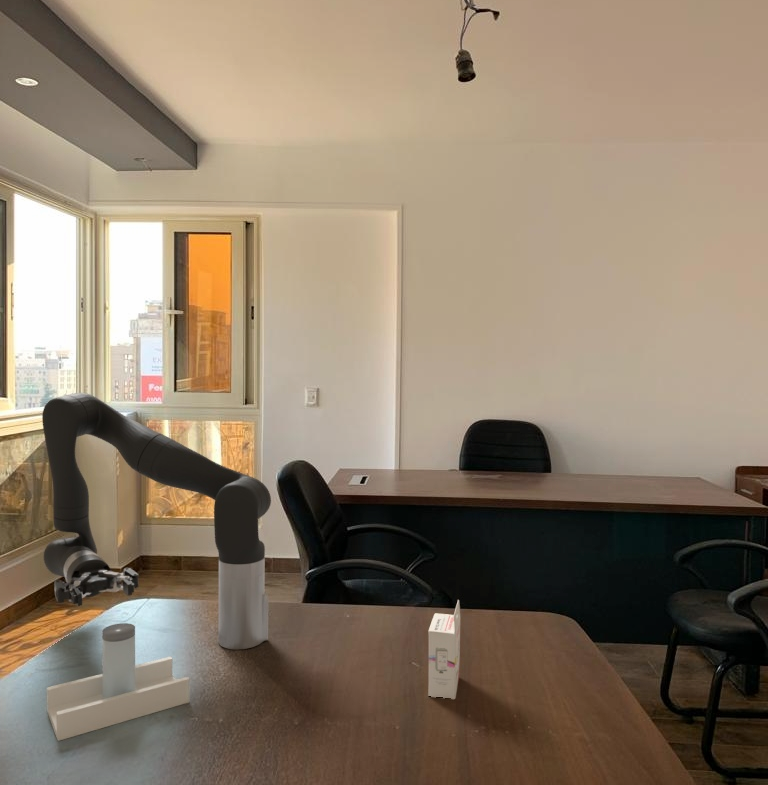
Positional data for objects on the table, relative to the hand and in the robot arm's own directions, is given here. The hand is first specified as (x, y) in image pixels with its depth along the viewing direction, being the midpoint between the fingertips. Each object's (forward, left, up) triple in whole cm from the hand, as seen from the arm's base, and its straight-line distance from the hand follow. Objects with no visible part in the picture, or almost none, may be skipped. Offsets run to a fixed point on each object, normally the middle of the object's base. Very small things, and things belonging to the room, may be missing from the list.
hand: (105, 595), depth 117 cm
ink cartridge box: (-48, +38, -15) cm, 63 cm away
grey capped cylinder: (+1, +13, -14) cm, 19 cm away
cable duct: (+1, +13, -15) cm, 20 cm away
